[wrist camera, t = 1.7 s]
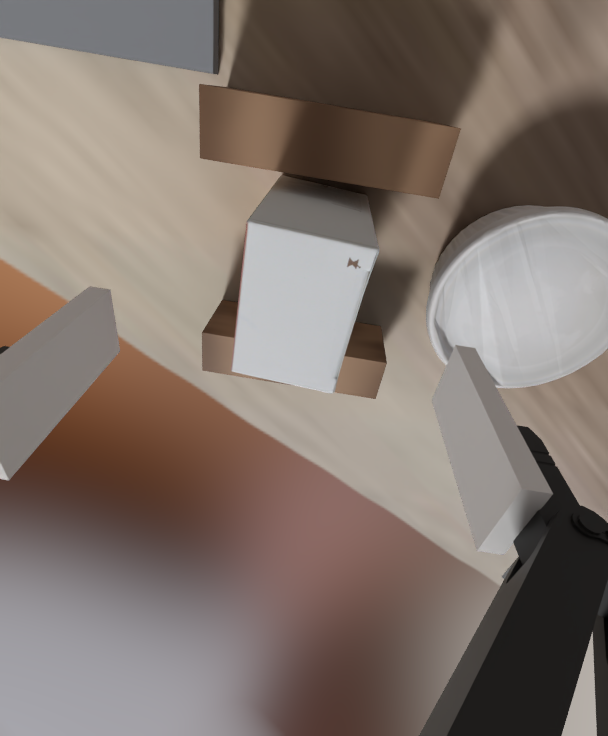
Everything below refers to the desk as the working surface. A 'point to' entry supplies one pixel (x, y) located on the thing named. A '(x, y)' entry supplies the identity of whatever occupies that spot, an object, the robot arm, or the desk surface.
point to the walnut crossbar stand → (325, 161)
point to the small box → (302, 283)
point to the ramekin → (524, 293)
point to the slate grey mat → (121, 28)
